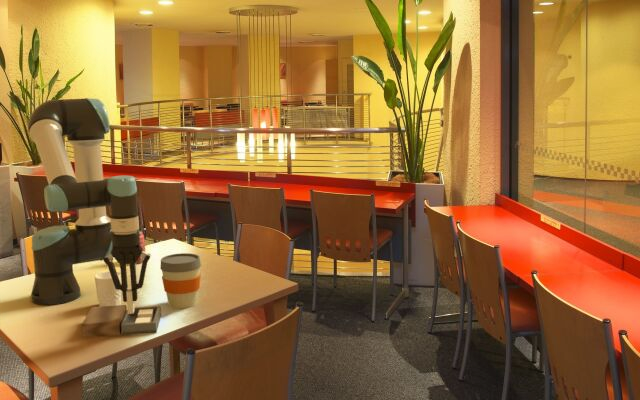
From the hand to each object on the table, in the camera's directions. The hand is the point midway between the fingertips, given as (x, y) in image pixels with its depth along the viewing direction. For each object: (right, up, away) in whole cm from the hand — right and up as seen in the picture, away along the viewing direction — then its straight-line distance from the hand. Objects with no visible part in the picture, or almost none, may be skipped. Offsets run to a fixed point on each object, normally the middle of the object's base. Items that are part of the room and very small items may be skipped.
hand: (131, 311), depth 188 cm
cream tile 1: (+2, -1, +8) cm, 8 cm away
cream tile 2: (+3, -3, +1) cm, 4 cm away
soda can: (-18, +7, +71) cm, 74 cm away
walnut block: (-8, -5, +3) cm, 10 cm away
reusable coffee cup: (+10, -1, +22) cm, 25 cm away
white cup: (-13, -2, +22) cm, 26 cm away
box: (+2, -5, +5) cm, 7 cm away
